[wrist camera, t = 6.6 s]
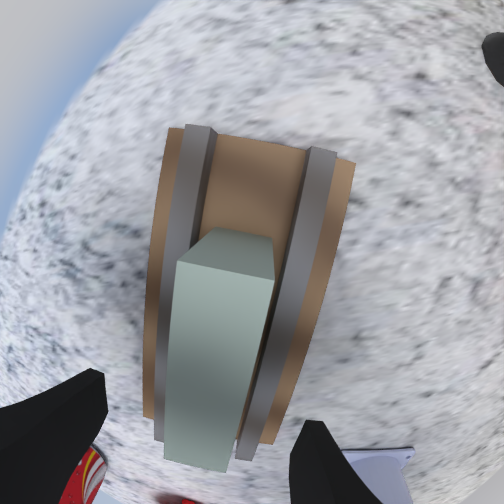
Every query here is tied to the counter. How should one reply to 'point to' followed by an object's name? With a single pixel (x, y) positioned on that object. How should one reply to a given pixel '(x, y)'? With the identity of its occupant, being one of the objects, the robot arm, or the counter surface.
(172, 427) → the door panel
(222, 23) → the counter surface
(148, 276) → the track board
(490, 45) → the wooden tabletop sculpture
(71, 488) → the soda can
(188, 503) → the red toy stool
